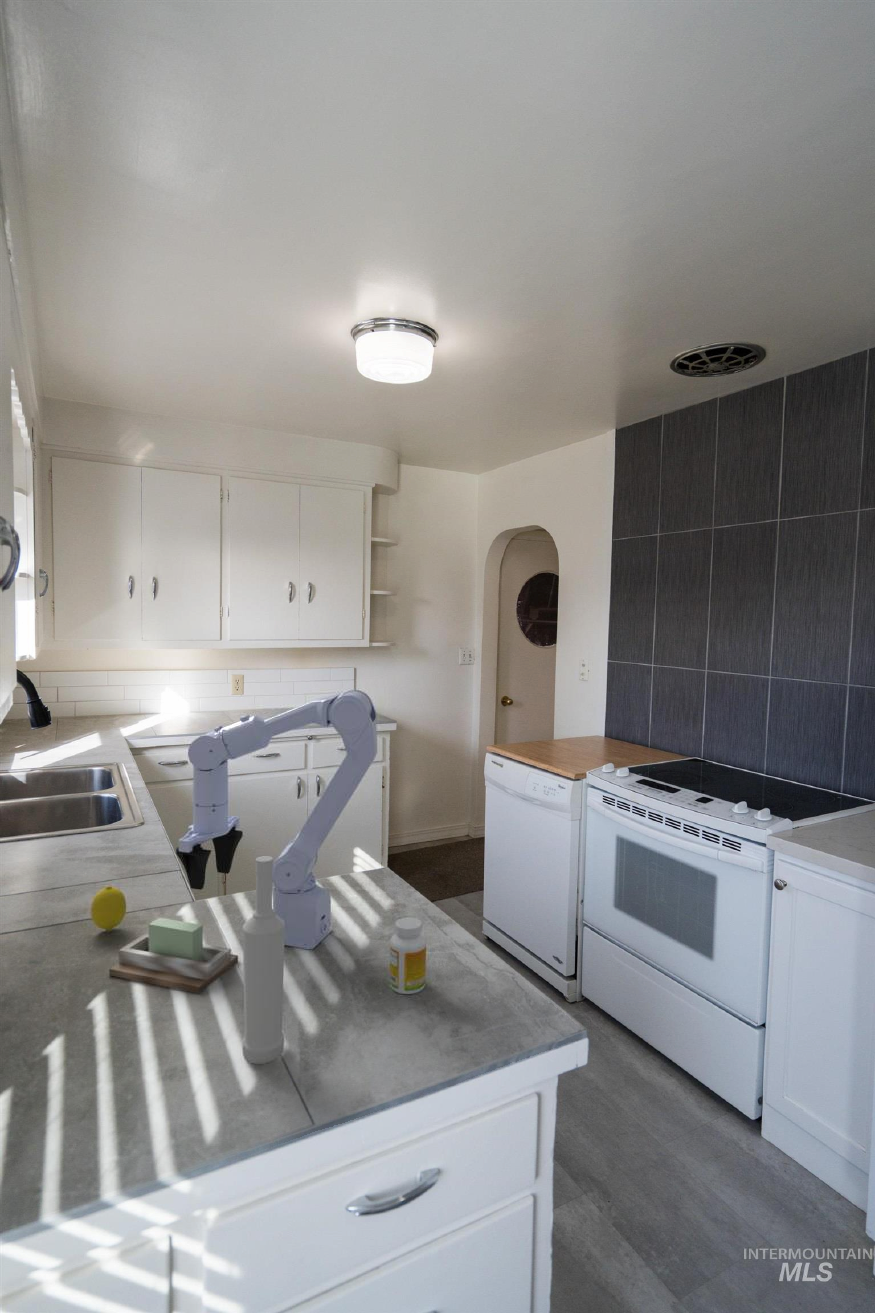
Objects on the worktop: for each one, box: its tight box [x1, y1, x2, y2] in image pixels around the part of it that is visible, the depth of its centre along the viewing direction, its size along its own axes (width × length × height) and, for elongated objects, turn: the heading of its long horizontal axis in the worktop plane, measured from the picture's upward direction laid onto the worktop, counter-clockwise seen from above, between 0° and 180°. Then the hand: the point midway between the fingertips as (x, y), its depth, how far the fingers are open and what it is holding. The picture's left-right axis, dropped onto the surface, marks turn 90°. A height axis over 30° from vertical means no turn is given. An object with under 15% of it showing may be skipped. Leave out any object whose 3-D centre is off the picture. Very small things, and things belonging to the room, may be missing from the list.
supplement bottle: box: [389, 917, 427, 995], centre depth 104 cm, size 5×5×10 cm
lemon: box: [90, 885, 127, 932], centre depth 120 cm, size 6×6×8 cm
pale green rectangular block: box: [148, 917, 204, 962], centre depth 108 cm, size 8×2×6 cm, turn 73°
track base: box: [108, 933, 239, 994], centre depth 108 cm, size 16×10×3 cm, turn 73°
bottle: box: [242, 855, 285, 1065], centre depth 87 cm, size 5×5×25 cm
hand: (210, 880), depth 120 cm, fingers open, 7 cm apart
